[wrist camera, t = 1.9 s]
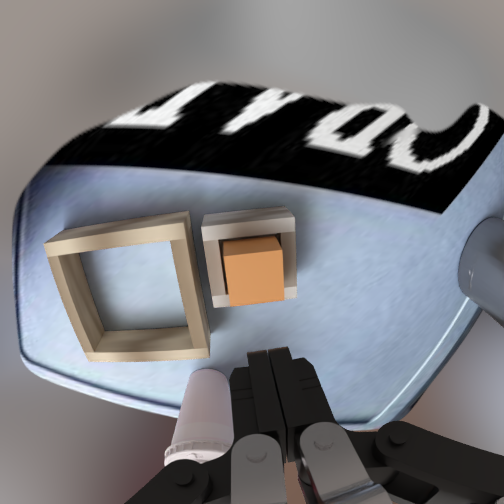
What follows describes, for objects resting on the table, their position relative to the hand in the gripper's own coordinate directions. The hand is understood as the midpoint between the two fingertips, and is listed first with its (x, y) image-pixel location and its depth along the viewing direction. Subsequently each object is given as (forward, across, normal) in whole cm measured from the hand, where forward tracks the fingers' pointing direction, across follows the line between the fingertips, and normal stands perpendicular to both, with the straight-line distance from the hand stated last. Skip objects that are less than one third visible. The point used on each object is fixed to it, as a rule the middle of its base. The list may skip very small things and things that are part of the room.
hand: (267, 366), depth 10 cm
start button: (+9, 0, 0) cm, 9 cm away
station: (+12, +5, +2) cm, 13 cm away
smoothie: (+12, +5, +13) cm, 18 cm away
